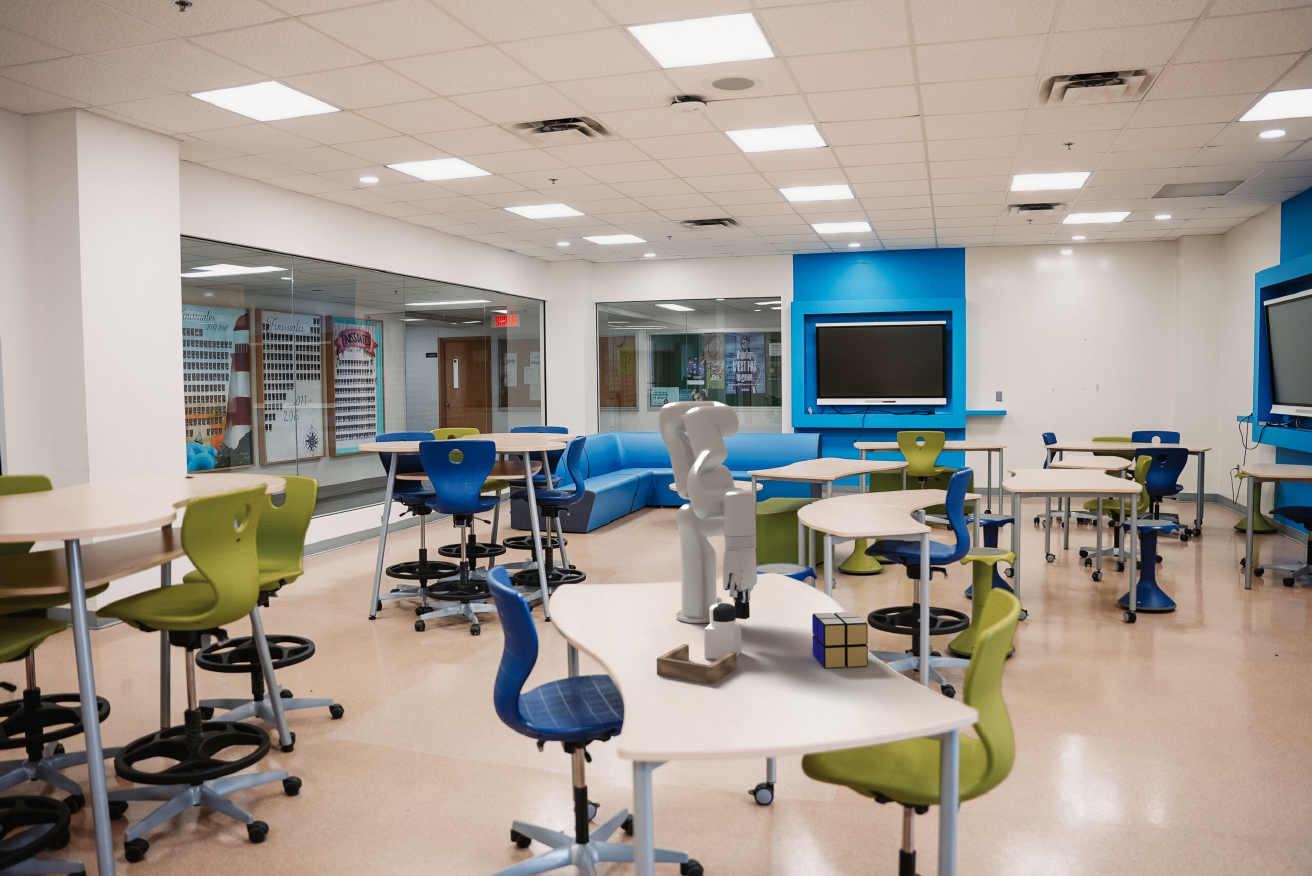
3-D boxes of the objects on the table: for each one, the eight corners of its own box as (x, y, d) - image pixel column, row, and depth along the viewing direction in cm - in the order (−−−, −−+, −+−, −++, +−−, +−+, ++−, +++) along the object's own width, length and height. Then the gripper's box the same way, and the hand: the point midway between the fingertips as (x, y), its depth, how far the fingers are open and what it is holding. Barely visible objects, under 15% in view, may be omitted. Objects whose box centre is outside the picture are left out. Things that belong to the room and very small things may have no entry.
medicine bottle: (741, 652, 205) (741, 602, 205) (734, 661, 198) (733, 609, 198) (712, 650, 208) (711, 600, 207) (704, 658, 201) (703, 607, 200)
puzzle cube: (812, 655, 202) (811, 613, 202) (854, 653, 203) (854, 611, 203) (824, 669, 192) (823, 624, 192) (868, 667, 193) (868, 622, 193)
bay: (684, 658, 201) (684, 643, 201) (736, 667, 194) (736, 652, 194) (656, 673, 191) (656, 658, 190) (711, 683, 184) (710, 667, 183)
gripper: (739, 537, 218) (741, 610, 218) (711, 545, 205) (714, 623, 205) (767, 538, 214) (769, 613, 214) (740, 547, 201) (742, 626, 202)
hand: (742, 617), depth 210 cm, fingers closed
